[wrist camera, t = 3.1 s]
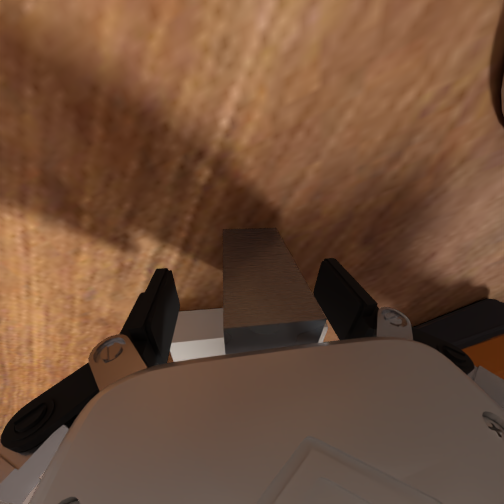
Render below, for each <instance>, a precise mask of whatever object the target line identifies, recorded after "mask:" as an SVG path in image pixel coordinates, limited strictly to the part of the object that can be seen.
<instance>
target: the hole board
mask: <svg viewBox="0 0 504 504" xmlns="http://www.w3.org/2000/svg"><path fill="white" fill-rule="evenodd" d="M327 329H328V326H327V324H326V323H325V325H324V328H323V331H322V334H321V336H320V339H319V342H318V343H321V342H323V340H324V337H325V334H326V332H327ZM170 352H171V355H172V358H173V361H174V362H177V361H183V360H190V359H197V358H204V357H211V356H219V355H225V344H224V332H223V308H218V309H205V310H193V311H181V312H179V313H178V318H177V322H176V326H175V330H174V335H173V339H172V343H171V348H170Z"/></svg>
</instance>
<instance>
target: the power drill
mask: <svg viewBox="0 0 504 504" xmlns="http://www.w3.org/2000/svg"><path fill="white" fill-rule="evenodd" d="M413 328H416V329H418V330H420V331H423V332H425V333H427V334H430V335H432V336H434V337H437V338H439V339H441V340H444V341H446V342H448V343H451V344H452V345H454V346H456V347H458V348H459V349H461V350H462V351H464V352H465V353H466V354H467V355H468V356H469V357H470V358H471V360H472V361H473V363H474V366H476V367H478V366H479V365H480V366H482V367H483V368H485V369H487V370H488V371H490V372H492V373H493V374H495V375H497V376H498V377H500V378H502V379H503V380H504V303H502V302H499V301H498V300H495V299H485V300H482V301H480V302H477V303H475V304H472V305H469V306H467V307H464V308H462V309H459V310H457V311H454V312H451V313H449V314H446V315H444V316H441V317H439V318H436V319H434V320H431V321H428V322H426V323H423V324H421V325H418V326H416V327H413Z"/></svg>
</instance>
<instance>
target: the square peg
mask: <svg viewBox="0 0 504 504" xmlns="http://www.w3.org/2000/svg"><path fill="white" fill-rule="evenodd" d="M326 320H327V318H326V317H325V315H324V313H323V311H322V309H321V308H320V306H319V304H318V302H317V301H316V299H315V297H314V295H313V293H312V292H311V290H310V288H309V286H308V285H307V283H306V281H305V279H304V277H303V276H302V274H301V272H300V270H299V268H298V267H297V265H296V263H295V261H294V260H293V258H292V256H291V254H290V252H289V251H288V249H287V247H286V245H285V244H284V242H283V240H282V238H281V236H280V235H279V233H278V231H277V229H276V228H259V229H224V230H223V332H224V344H225V355H226V354H234V353H241V352H249V351H257V350H265V349H273V348H281V347H289V346H297V345H305V344H313V343H318V342H319V339H320V336H321V334H322V331H323V328H324V325H325V323H326Z"/></svg>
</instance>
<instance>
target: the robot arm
mask: <svg viewBox="0 0 504 504" xmlns="http://www.w3.org/2000/svg"><path fill="white" fill-rule="evenodd" d="M501 100H502V112H503V115H504V74H503V81H502V87H501ZM314 297H315V299H316V301H317V302H318V304H319V306H320V307H321V309H322V311H323V312H324V314H325V316H326V317H327V319H328V321H329V323H330V324H331V326H332V328H333V329H334V331H335V333H336V334H337V336H338V338H339V339H340V340H338V341H330V342H321V343H313V344H305V345H297V346H289V347H281V348H273V349H265V350H257V351H249V352H241V353H234V354H226V355H219V356H211V357H204V358H197V359H190V360H183V361H177V362H171V363H167V360H168V356H169V352H170V348H171V343H172V339H173V335H174V330H175V326H176V322H177V318H178V313H179V309H180V303H179V299H178V295H177V291H176V286H175V282H174V278H173V274H172V271H171V270H170V271H169V270H168V269H167V268H162V269H156V271H155V273H154V275H153V277H152V279H151V281H150V283H149V285H148V287H147V289H146V291H145V292H144V293H141V294H140V295H139V297H138V299H137V301H136V303H135V305H134V307H133V309H132V311H131V313H130V315H129V317H128V318H127V320H126V322H125V324H124V326H123V328H122V330H121V332H120V334H118V335H113V336H110V337H108V338H106V339H104V340H103V341H101V342H100V343H98V344H97V345H96V346H95V347H94V348H93V350H92V351H91V353H90V355H89V358H88V360H89V362H88V363H87V364H86V365H84V366H83V367H81V368H80V369H78V370H77V371H75V372H74V373H72V374H71V375H69V376H68V377H66V378H65V379H63V380H62V381H60V382H59V383H57V384H56V385H54V386H53V387H51V388H50V389H49V390H47V391H46V392H44V393H43V394H41V395H40V396H38V397H37V398H35V399H34V400H32V401H31V402H29V403H28V404H27V405H25V406H24V407H23V408H21V409H20V410H19V411H18V412H17V413H16V414H15V415H14V416H13V417H12V418H11V420H10V421H9V422H8V424H7V425H6V426H5V428H4V430H3V433H2V435H1V439H0V504H22V503H23V502H24V500H25V499H26V497H27V496H28V495H29V493H30V492H31V491H32V490H33V489H34V487H35V486H36V485H37V484H38V483H39V484H38V486H37V488H36V490H35V492H34V494H33V496H32V498H31V500H30V502H29V503H28V504H504V380H503V379H502V378H500V377H498V376H497V375H495V374H493V373H492V372H490V371H488V370H487V369H485V368H483V367H482V366H480V365H479V366H478V367H476V366H474V363H473V361H472V360H471V358H470V357H469V356H468V355H467V354H466V353H465V352H464V351H462V350H461V349H459V348H458V347H456V346H454V345H452V344H451V343H448V342H446V341H444V340H441V339H439V338H437V337H434V336H432V335H430V334H427V333H425V332H423V331H420V330H418V329H416V328H413V327H411V323H410V320H409V319H408V318H407V317H406V316H405V315H404V314H403V313H401V312H400V311H398V310H396V309H393V308H390V307H381V308H380V309H379V308H378V307H377V303H376V301H375V300H374V299H373V298H372V297H371V296H370V295H369V294H368V293H367V292H366V291H365V290H364V289H363V288H362V287H361V286H360V285H359V283H358V282H357V281H356V280H355V279H354V278H353V277H352V276H351V275H350V274H349V273H348V272H347V271H346V270H345V269H344V268H343V267H342V265H341V264H340V263H339V262H338V261H337V260H336V259H335V258H328V259H324V261H322V262H321V266H320V269H319V273H318V277H317V281H316V284H315V288H314ZM45 470H46V471H45ZM44 471H45V473H44V474H43V476H42V478H41V479H40V478H39V477H40V475H41V474H42V473H43V472H44ZM39 481H40V482H39ZM78 500H79V501H78Z"/></svg>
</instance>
